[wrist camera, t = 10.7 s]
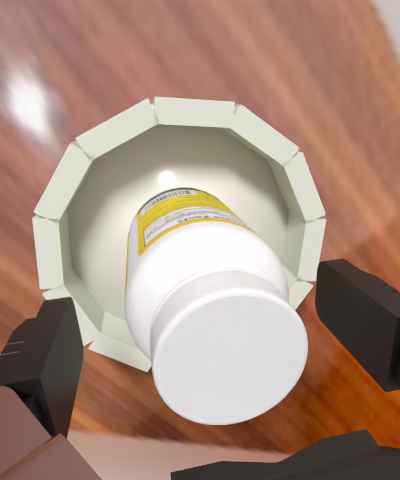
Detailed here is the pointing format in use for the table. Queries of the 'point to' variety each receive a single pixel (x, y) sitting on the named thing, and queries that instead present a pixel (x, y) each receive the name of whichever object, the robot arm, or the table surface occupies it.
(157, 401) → the table surface
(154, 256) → the supplement bottle
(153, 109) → the sage bowl
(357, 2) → the table surface
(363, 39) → the table surface
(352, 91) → the table surface
